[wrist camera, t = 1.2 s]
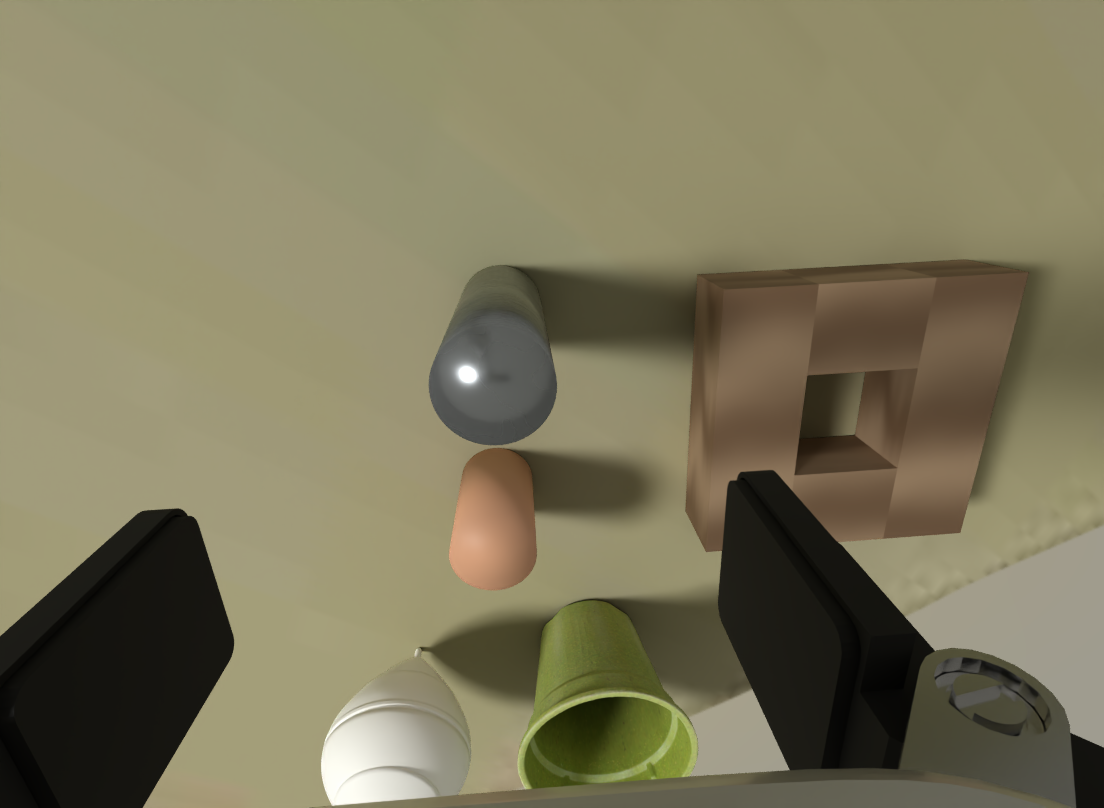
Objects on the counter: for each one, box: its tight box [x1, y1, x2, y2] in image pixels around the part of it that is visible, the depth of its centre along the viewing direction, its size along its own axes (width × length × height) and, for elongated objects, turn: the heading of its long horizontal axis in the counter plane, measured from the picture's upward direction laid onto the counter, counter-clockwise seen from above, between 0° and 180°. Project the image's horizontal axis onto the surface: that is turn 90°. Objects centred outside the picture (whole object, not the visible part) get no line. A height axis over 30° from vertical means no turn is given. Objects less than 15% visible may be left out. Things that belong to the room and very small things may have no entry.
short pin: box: [449, 448, 537, 590], centre depth 30 cm, size 4×4×7 cm
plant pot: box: [518, 600, 698, 789], centre depth 34 cm, size 9×9×9 cm
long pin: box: [429, 265, 557, 445], centre depth 24 cm, size 4×4×12 cm
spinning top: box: [321, 648, 471, 806], centre depth 32 cm, size 8×8×12 cm
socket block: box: [686, 260, 1029, 552], centre depth 30 cm, size 14×14×4 cm
